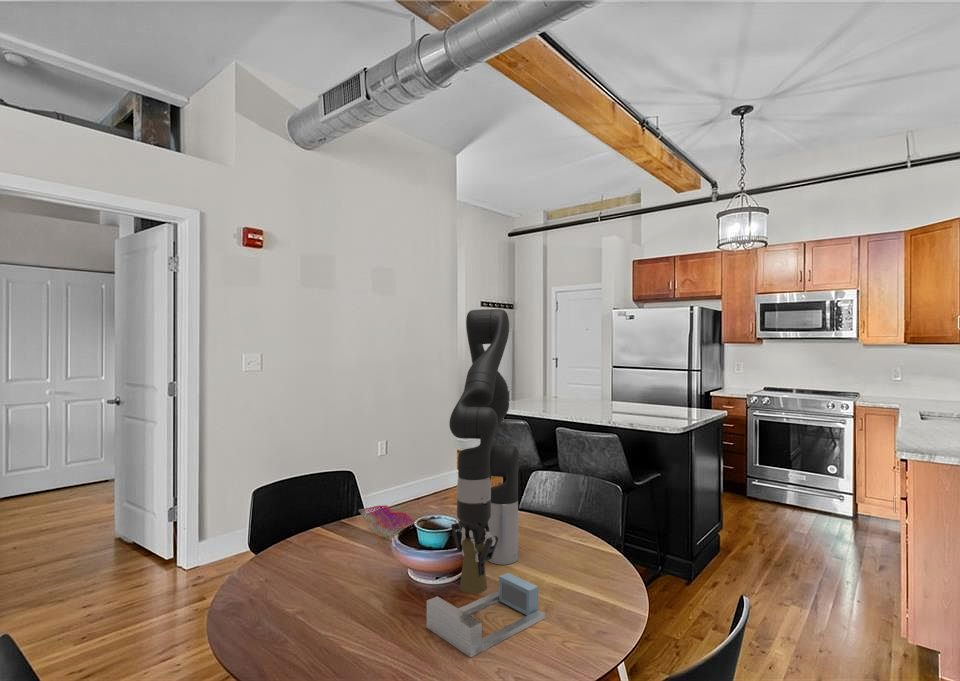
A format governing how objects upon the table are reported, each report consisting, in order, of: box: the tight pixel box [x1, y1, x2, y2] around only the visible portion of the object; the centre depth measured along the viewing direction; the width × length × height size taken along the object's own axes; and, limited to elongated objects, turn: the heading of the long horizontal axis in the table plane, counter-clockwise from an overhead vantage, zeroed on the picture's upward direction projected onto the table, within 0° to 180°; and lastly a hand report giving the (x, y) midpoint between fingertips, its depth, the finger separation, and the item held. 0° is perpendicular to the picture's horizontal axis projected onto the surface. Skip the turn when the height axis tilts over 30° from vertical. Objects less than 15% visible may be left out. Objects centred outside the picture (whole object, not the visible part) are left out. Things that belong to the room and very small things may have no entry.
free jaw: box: [498, 572, 539, 616], centre depth 126 cm, size 10×3×6 cm, turn 42°
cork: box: [459, 538, 488, 595], centre depth 116 cm, size 6×6×11 cm
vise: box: [426, 590, 546, 659], centre depth 119 cm, size 15×22×6 cm, turn 132°
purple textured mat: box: [358, 505, 415, 539], centre depth 183 cm, size 30×15×5 cm, turn 26°
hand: (474, 574), depth 116 cm, fingers closed on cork, 2 cm apart
